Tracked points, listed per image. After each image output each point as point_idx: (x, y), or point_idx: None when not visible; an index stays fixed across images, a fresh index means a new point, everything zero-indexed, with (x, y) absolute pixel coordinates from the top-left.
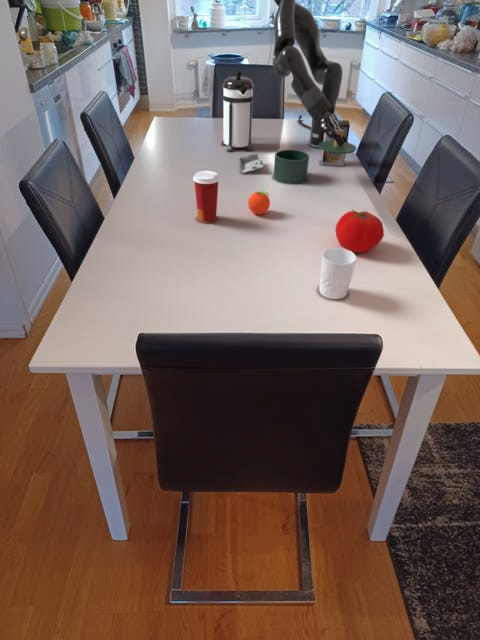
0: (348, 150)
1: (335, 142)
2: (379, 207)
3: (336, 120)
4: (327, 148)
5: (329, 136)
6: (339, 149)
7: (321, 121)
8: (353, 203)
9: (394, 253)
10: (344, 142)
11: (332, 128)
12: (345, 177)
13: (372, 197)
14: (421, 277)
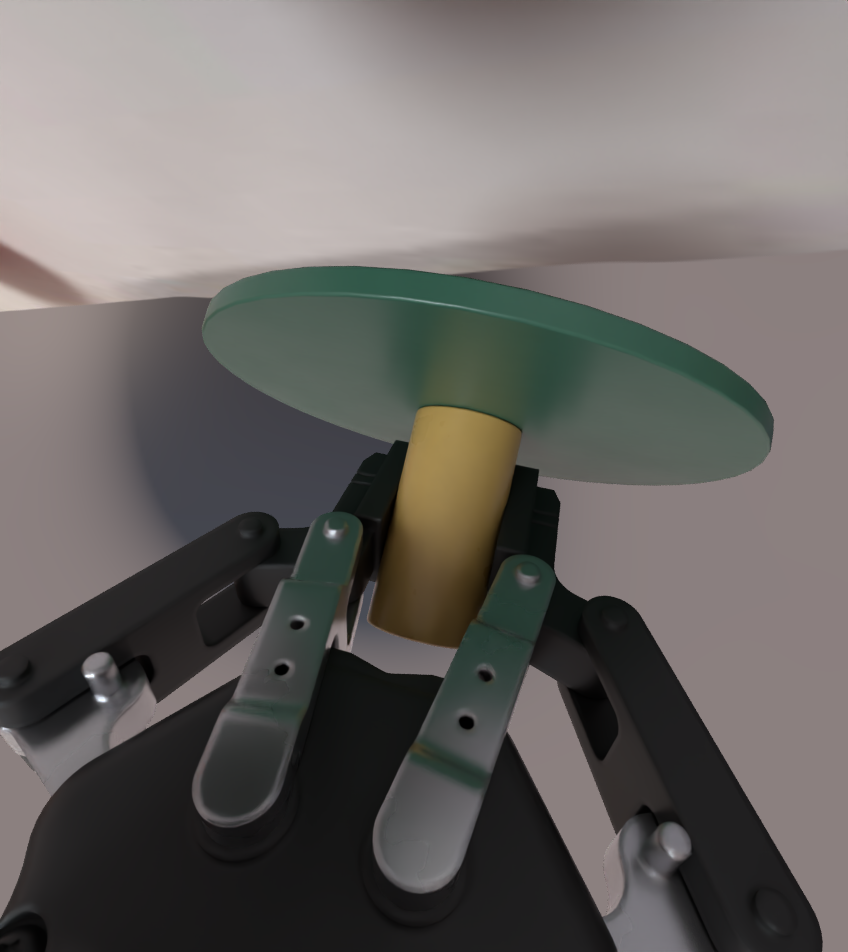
0: (392, 438)
1: (408, 464)
2: None
3: (612, 821)
4: (271, 358)
5: (218, 535)
6: (357, 413)
7: (43, 822)
8: (205, 201)
9: (32, 282)
10: None
11: (221, 654)
12: (683, 135)
13: None
14: (20, 305)
